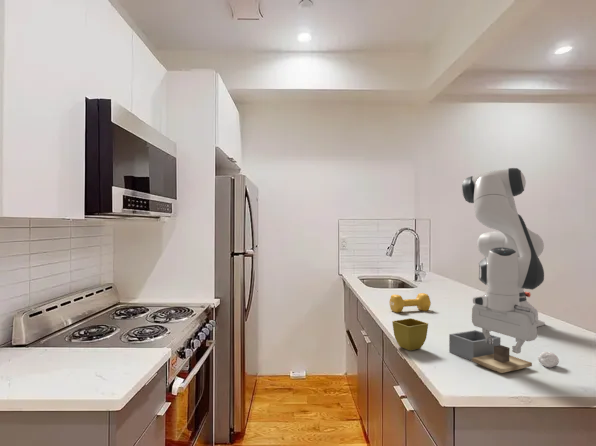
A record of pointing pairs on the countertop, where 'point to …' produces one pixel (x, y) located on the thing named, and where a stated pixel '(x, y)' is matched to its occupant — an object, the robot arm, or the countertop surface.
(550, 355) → the microfossil shell
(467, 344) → the box
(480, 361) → the lid
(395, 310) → the dumbbell
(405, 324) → the flower pot
